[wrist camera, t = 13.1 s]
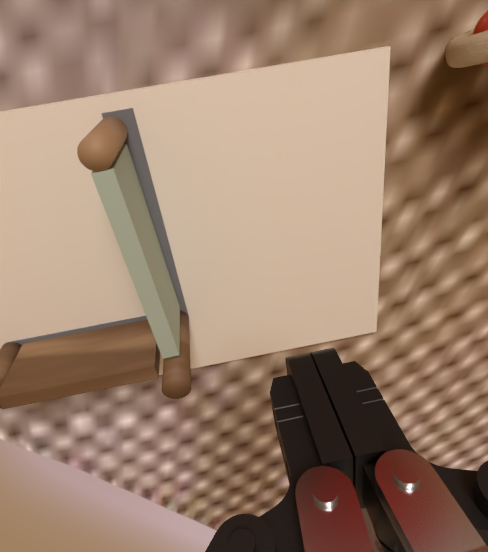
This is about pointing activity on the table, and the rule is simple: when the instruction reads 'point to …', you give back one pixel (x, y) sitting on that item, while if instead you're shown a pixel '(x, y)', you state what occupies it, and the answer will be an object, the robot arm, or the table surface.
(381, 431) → the robot arm
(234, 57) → the table surface
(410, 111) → the table surface
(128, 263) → the hinged fence section
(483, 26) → the bird rattle
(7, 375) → the fence
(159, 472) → the table surface
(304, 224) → the card
